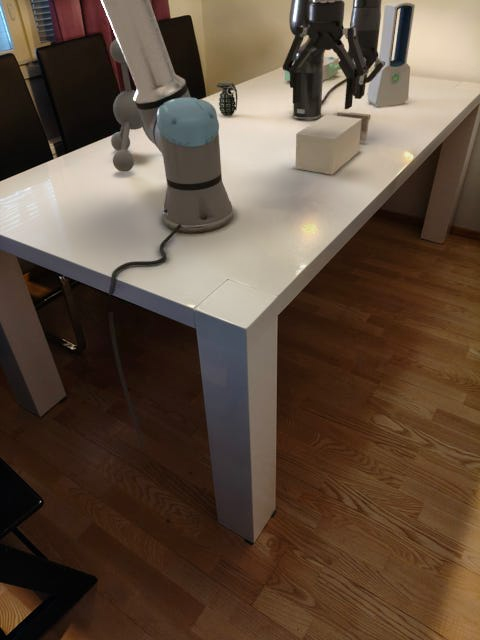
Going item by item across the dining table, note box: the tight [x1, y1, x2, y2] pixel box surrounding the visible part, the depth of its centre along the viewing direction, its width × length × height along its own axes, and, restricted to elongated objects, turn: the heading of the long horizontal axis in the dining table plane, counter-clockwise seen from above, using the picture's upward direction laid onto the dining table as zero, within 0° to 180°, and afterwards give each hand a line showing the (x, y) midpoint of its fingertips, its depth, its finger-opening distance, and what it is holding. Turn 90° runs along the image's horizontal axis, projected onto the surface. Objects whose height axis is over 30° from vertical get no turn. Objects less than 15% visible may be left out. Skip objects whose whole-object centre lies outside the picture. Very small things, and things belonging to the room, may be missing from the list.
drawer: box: [336, 111, 371, 142], centre depth 136 cm, size 22×9×7 cm, turn 148°
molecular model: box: [109, 38, 143, 173], centre depth 130 cm, size 24×22×30 cm
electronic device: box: [366, 0, 416, 108], centre depth 163 cm, size 12×8×30 cm, turn 105°
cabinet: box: [294, 114, 362, 176], centre depth 128 cm, size 18×10×9 cm, turn 148°
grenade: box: [215, 82, 238, 117], centre depth 166 cm, size 7×6×10 cm
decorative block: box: [284, 56, 341, 82], centre depth 206 cm, size 26×6×20 cm
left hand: (321, 105), depth 118 cm, fingers open, 13 cm apart
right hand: (358, 98), depth 137 cm, fingers closed
